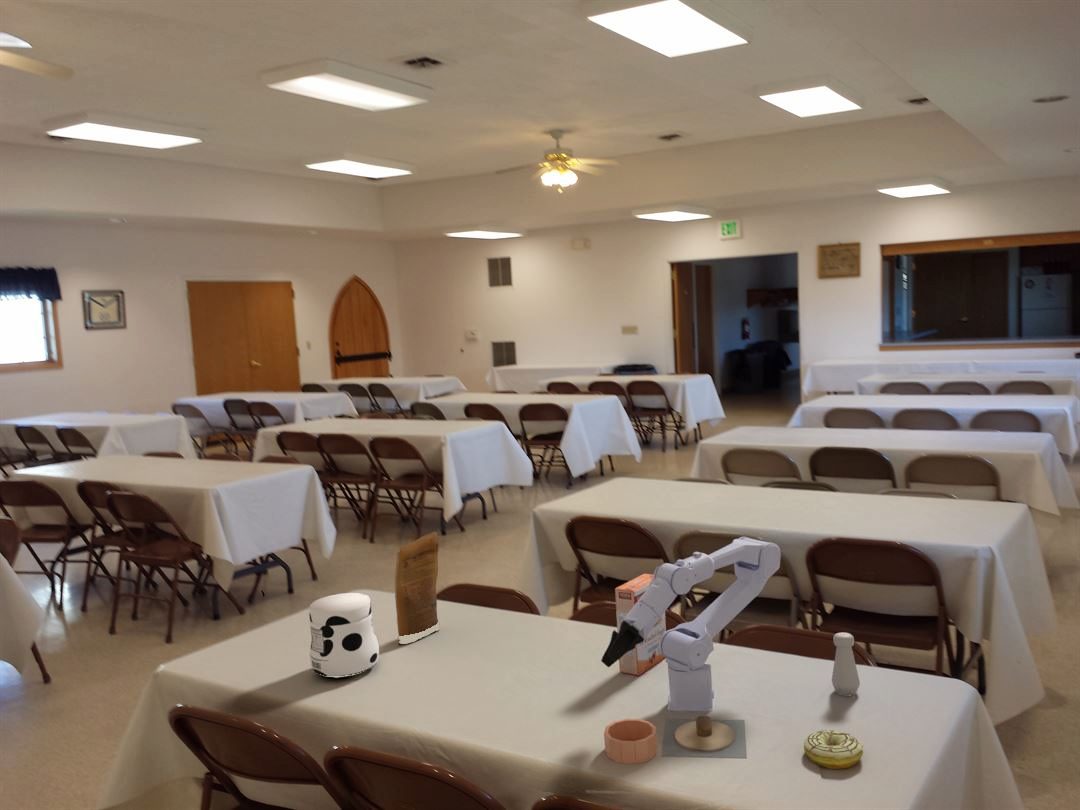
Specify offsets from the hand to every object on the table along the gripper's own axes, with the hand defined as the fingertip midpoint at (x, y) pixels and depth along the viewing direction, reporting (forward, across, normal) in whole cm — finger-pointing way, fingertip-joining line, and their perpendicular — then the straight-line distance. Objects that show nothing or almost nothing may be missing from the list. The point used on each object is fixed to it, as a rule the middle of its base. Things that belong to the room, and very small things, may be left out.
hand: (608, 661), depth 184 cm
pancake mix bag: (+13, -72, -41) cm, 84 cm away
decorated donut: (-11, +12, +43) cm, 46 cm away
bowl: (+11, 0, +14) cm, 18 cm away
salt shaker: (-31, -10, +44) cm, 55 cm away
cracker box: (-13, -36, +9) cm, 39 cm away
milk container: (+33, -56, -47) cm, 81 cm away
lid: (-1, 0, +24) cm, 24 cm away
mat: (-1, 0, +24) cm, 24 cm away
